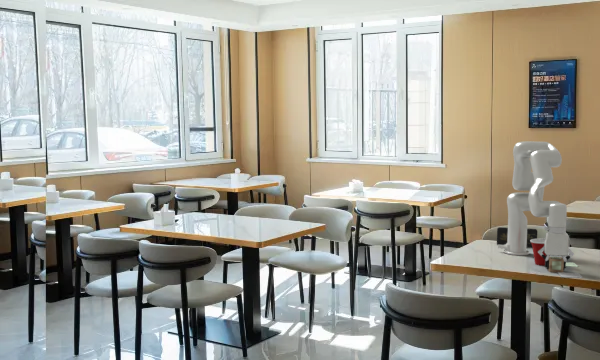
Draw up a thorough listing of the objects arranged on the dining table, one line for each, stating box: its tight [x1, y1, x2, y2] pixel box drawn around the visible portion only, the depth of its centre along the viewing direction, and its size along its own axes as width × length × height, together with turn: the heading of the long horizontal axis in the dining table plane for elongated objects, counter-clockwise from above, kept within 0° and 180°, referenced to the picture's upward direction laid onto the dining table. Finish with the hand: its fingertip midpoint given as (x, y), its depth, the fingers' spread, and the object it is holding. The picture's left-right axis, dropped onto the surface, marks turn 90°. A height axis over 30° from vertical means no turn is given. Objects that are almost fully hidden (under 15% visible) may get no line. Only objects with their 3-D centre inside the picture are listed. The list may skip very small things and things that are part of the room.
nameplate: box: [496, 226, 538, 248], centre depth 359 cm, size 21×2×10 cm, turn 77°
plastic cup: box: [530, 237, 546, 267], centre depth 312 cm, size 11×11×12 cm
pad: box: [566, 261, 579, 268], centre depth 313 cm, size 9×9×1 cm
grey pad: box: [557, 271, 584, 279], centre depth 290 cm, size 9×9×1 cm
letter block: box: [547, 256, 565, 273], centre depth 298 cm, size 6×6×6 cm
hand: (555, 269), depth 298 cm, fingers closed on letter block, 6 cm apart
